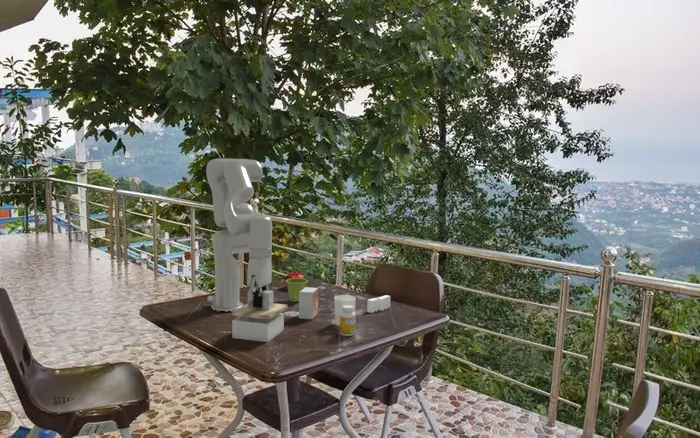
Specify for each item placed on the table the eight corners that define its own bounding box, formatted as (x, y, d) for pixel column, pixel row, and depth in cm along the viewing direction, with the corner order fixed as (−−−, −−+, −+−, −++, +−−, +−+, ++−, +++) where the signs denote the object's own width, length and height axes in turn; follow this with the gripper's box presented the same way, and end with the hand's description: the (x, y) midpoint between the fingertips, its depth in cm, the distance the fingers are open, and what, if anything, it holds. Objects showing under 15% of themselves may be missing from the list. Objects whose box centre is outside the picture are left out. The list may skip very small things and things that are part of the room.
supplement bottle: (339, 331, 180) (339, 304, 179) (354, 331, 180) (355, 304, 179) (340, 336, 175) (340, 308, 174) (355, 336, 175) (356, 308, 174)
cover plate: (232, 315, 170) (231, 294, 169) (251, 304, 183) (251, 284, 183) (270, 319, 166) (270, 297, 165) (287, 308, 180) (287, 288, 179)
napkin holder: (390, 306, 215) (390, 292, 215) (399, 313, 204) (399, 299, 204) (355, 307, 212) (356, 294, 211) (363, 315, 201) (363, 301, 200)
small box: (312, 319, 193) (313, 292, 192) (298, 318, 194) (298, 291, 193) (318, 313, 201) (318, 287, 200) (304, 312, 202) (304, 286, 201)
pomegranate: (307, 287, 245) (308, 268, 244) (300, 291, 236) (301, 271, 235) (288, 285, 247) (288, 266, 247) (280, 289, 238) (281, 270, 237)
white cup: (339, 328, 183) (340, 301, 182) (330, 322, 190) (330, 296, 189) (359, 325, 187) (359, 299, 185) (349, 319, 193) (349, 294, 192)
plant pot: (295, 296, 226) (295, 277, 226) (311, 300, 221) (312, 280, 220) (281, 300, 219) (281, 280, 218) (297, 304, 213) (297, 284, 213)
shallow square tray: (232, 337, 171) (232, 320, 171) (250, 326, 184) (250, 310, 183) (267, 342, 168) (267, 324, 167) (283, 330, 180) (283, 313, 180)
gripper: (261, 248, 182) (261, 298, 184) (238, 256, 166) (238, 311, 168) (280, 249, 180) (280, 300, 182) (259, 257, 164) (259, 313, 166)
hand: (260, 305), depth 175 cm, fingers closed on cover plate, 3 cm apart
